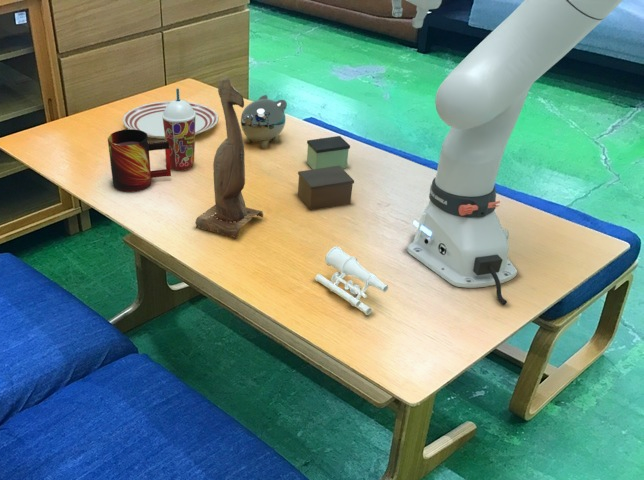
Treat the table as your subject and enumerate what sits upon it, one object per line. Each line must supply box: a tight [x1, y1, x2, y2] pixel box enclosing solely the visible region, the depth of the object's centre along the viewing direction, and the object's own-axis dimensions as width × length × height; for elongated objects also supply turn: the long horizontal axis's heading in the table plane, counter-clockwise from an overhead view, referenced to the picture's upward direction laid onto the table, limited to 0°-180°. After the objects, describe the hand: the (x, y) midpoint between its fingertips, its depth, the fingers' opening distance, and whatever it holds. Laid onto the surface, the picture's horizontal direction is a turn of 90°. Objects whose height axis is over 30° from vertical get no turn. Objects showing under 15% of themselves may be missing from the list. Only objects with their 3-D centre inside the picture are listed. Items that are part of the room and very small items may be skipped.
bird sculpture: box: [195, 77, 264, 239], centre depth 142 cm, size 11×12×32 cm
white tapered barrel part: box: [314, 245, 389, 316], centre depth 128 cm, size 8×14×5 cm
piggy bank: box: [240, 94, 288, 149], centre depth 183 cm, size 11×15×12 cm
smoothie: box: [162, 88, 196, 172], centre depth 170 cm, size 8×8×20 cm
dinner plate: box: [122, 100, 219, 140], centre depth 195 cm, size 28×27×3 cm
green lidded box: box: [306, 135, 351, 170], centre depth 172 cm, size 6×9×6 cm
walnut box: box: [297, 166, 355, 211], centre depth 158 cm, size 8×10×6 cm
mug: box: [107, 128, 172, 193], centre depth 166 cm, size 10×14×12 cm
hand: (406, 21), depth 151 cm, fingers open, 8 cm apart
